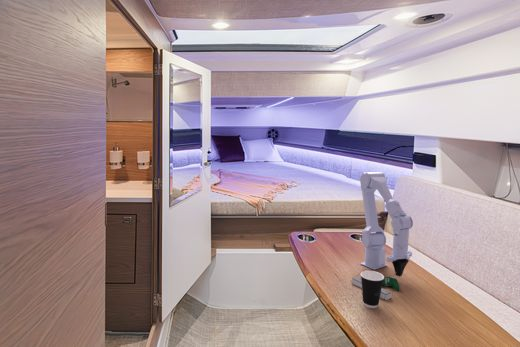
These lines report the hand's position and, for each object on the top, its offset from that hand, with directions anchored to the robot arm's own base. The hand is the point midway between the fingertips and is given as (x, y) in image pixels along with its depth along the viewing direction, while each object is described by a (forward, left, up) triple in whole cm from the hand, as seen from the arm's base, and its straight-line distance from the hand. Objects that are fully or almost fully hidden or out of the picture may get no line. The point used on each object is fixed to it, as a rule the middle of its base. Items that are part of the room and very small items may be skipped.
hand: (398, 275), depth 133 cm
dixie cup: (+27, +7, -2) cm, 28 cm away
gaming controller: (+10, +1, -3) cm, 10 cm away
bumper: (+18, 0, -2) cm, 18 cm away
